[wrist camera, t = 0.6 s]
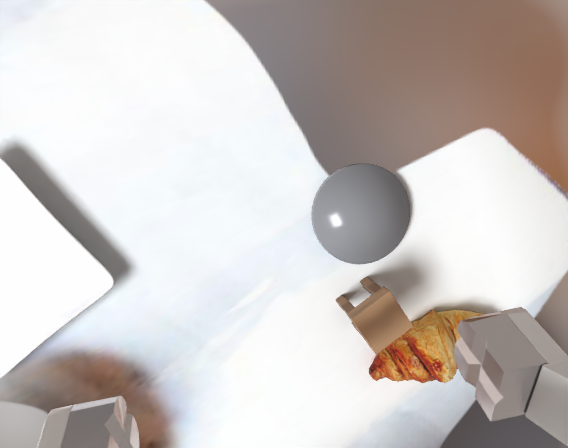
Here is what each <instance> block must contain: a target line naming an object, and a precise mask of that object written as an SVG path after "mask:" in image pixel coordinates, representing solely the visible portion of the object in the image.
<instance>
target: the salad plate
mask: <svg viewBox="0 0 568 448" xmlns="http://www.w3.org/2000/svg"><path fill="white" fill-rule="evenodd" d="M113 285H114V279H113V277H112V275H111V274H110V272H109V271H108V270H107V269H106V268H105V267H104V266H103V265H102V264H101V263H100V262H99V261H98V260H97V259H96V258H95V257H94V256H93V255H92V254H91V253H90V252H89V251H88V250H87V249H86V248H85V247H84V246H83V245H82V244H81V243H80V242H79V241H78V240H77V239H76V238H75V237H74V236H73V235H72V234H71V233H70V232H69V231H68V230H67V229H66V228H65V227H64V226H63V225H62V224H61V223H60V222H59V221H58V220H57V219H56V218H55V217H54V216H53V215H52V213H51V212H50V211H49V210H48V209H47V208H46V207H45V206H44V205H43V204H42V203H41V202H40V200H39V199H38V198H37V197H36V196H35V195H34V194H33V193H32V192H31V190H30V189H29V188H28V187H27V186H26V185H25V183H24V182H23V181H22V180H21V179H20V178H19V176H18V175H17V174H16V173H15V172H14V171H13V169H12V168H11V167H10V166H9V165H8V164H7V163H6V162H5V161H4V160H3V159H2V158H0V378H2V377H3V376H4V375H5V374H7V373H8V372H9V371H10V370H11V369H12V368H14V367H15V366H16V365H17V364H18V363H19V362H21V361H22V360H23V359H24V358H25V357H26V356H28V355H29V354H30V353H31V352H32V351H33V350H35V349H36V348H37V347H38V346H39V345H41V344H42V343H43V342H44V341H45V340H46V339H48V338H49V337H50V336H51V335H53V334H54V333H55V332H56V331H58V330H59V329H60V328H62V327H63V326H64V325H65V324H67V323H68V322H69V321H70V320H72V319H73V318H74V317H76V316H77V315H78V314H80V313H81V312H82V311H84V310H85V309H86V308H88V307H89V306H90V305H92V304H93V303H94V302H96V301H97V300H98V299H100V298H101V297H102V296H103V295H104V294H106V293H107V292H108V291H109V290H110V289H111V288H112V287H113Z"/></svg>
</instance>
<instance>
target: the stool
mask: <svg viewBox="0 0 568 448" xmlns="http://www.w3.org/2000/svg"><path fill="white" fill-rule="evenodd" d="M360 282H361V284H362V285H363V287H364V288H365V289H366V290H367V291H369V292H370V293H371V294H372V295H371V296H370V297H369V298H367V299H366V300H365V301H363V302H362V303H361V304H359V305H358V306H357V307H354V306H353V305H352V304H351V303H350V302H349V301H348V300H347V299H346V298H345V297H344V296H343V295H341V296H340V297H338V298H337V299H336V301H337V303H338V304H339V306H340V307H341V308H342V309H343V310H344V311H345V312H346V313H347V315H348V316H349V318H350V319H351V321H352V324H353V326H354V327H355V328H356V330H357V331H358V332H359V333H360V334H361V335H362V336H363V338H364V339H365V341H366V342H367V343H368V345H369V346H370V348H371V349H372V350H373V351H374V352H375V353H376V354H378V353H379V352H380V351H382V350H383V349H384V348H386V347H387V346H388V345H389V344H391V343H392V342H393V341H395V340H396V339H397V338H399V337H400V336H401V335H403V334H404V333H405V332H407V331H408V330H409V329H411V328H412V327H413V325H412V324H411V322H410V321H409V319H408V318H407V316H406V315H405V313H404V312H403V310H402V309H401V307H400V306H399V304H398V303H397V301H396V300H395V298H394V297H393V295H392V294H391V292H390V291H389V290H388V289H386V288H385V287H380V286H379V285H377V284H376V283H375V282H373V281H372V280H370V279H369V278H368V277H365V278H364V279H363V280H361V281H360Z"/></svg>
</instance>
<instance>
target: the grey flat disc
mask: <svg viewBox="0 0 568 448" xmlns="http://www.w3.org/2000/svg"><path fill="white" fill-rule="evenodd" d="M409 218H410V205H409V200H408V196H407V193H406V191H405V189H404V187H403V185H402V184H401V182H400V181H399V180H398V179H397V178H396V176H395V175H393V174H392V173H391V172H389V171H388V170H386V169H384V168H382V167H380V166H376V165H372V164H353V165H349V166H346V167H343V168H341V169H339V170H337V171H336V172H334V173H333V174H331V175H330V176H329V177H328V178H327V179H326V180H325V181H324V182H323V184H322V185H321V186H320V188H319V190H318V192H317V194H316V196H315V199H314V202H313V206H312V224H313V229H314V232H315V235H316V237H317V239H318V240H319V242H320V244H321V245H322V246H323V247H324V249H325V250H327V251H328V252H329V253H330V254H331V255H333V256H334V257H336V258H337V259H339V260H341V261H344V262H347V263H352V264H367V263H372V262H375V261H378V260H380V259H382V258H384V257H385V256H387V255H388V254H389V253H391V252H392V251H393V250H394V249H395V248H396V247H397V246H398V244H399V243H400V242H401V240H402V238H403V237H404V235H405V232H406V230H407V227H408V223H409Z"/></svg>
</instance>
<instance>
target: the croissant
mask: <svg viewBox="0 0 568 448" xmlns="http://www.w3.org/2000/svg"><path fill="white" fill-rule="evenodd" d="M481 315H485V314H482V313H475V312H472V311H464V310H449V311H442V312H437V313H436V312H435V311H434V310H432V311H431V312H430V313H428V314H427V315H425V316H424V317H423V318H422V319H421V320H417V321H414V322H412V323H411V324H412V325H413V327H412V328H411V329H409V330H408V331H407V332H405V333H404V334H403V335H401V336H400V337H399V338H397V339H396V340H395V341H393V342H392V343H391V344H389V345H388V346H387V347H386V348H384V349H383V350H382V351H380V352H379V353H378V354H377V356H376V358H375V359H374V361H373V363H372V365H371V366H370V368H369V374H370V375H371V377H372V378H373V379H374V380H376V381H377V380H379V379H382V378H385V377H387V378H389V379H390V380H392V381H398V382H399V381H403V380H407V381H408V380H412V379H414V380H416V381H420V382H421V383H425V382H427V381H433V380H438V381H440V382H444V383H445V382H448V381H450V380H452V379H453V376H454V375H455V374H456V369H458V366H457V364H456V360H455V355H454V349H455V343H456V342H457V341H458V340H459V338H460V337H461V336H460V334H459V333H458V331H457V329H458V324H459V322H460V321H461V320H464V319H468V318H472V317H476V316H481Z"/></svg>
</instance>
